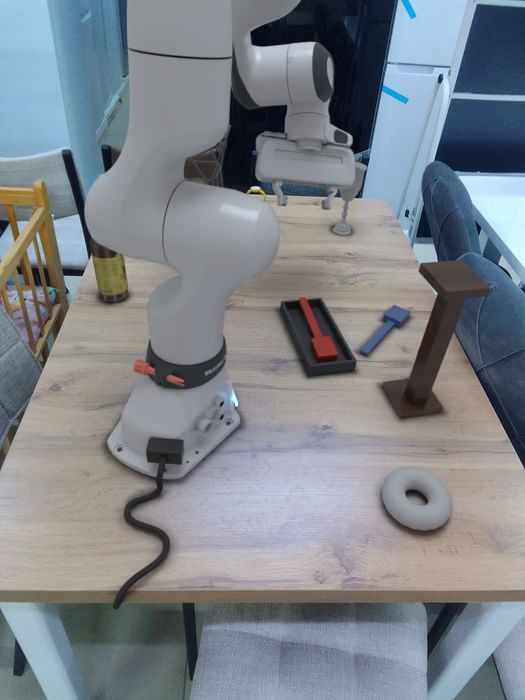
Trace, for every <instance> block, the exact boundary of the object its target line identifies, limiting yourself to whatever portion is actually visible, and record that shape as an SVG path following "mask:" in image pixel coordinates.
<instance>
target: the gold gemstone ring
mask: <svg viewBox="0 0 525 700" xmlns="http://www.w3.org/2000/svg"><path fill="white" fill-rule="evenodd" d="M251 192H252V193H260V194H261V195H262V196H263V201H264V202H266V203H267V195H266V193H265V192H264V190H262V189H261V187H260V186H256V185H255V186H251V187H250V189H248V190H247V192H246V193H245V194H248V195H250V193H251Z"/></svg>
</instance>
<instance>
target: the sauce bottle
mask: <svg viewBox="0 0 525 700" xmlns="http://www.w3.org/2000/svg"><path fill="white" fill-rule="evenodd" d="M89 246H90V250H91V258H92V264H93V269H94V274H95V280H96V285H97V291H99V296H100V299H101V300H102V301H104V302H107V303H115V302H121V301H122V300H125V299H126V298H127V297H128V295H129V281H128V276H127V268H126V262H125V256H124V255H122V254H120V253H117V252H115V251H113V250H111V249H109V248H106V247H104V246H102V245H100V244H98V243H97V242H96V241H95V240H94V239H93V238H92V236H91V237H90V240H89Z"/></svg>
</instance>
